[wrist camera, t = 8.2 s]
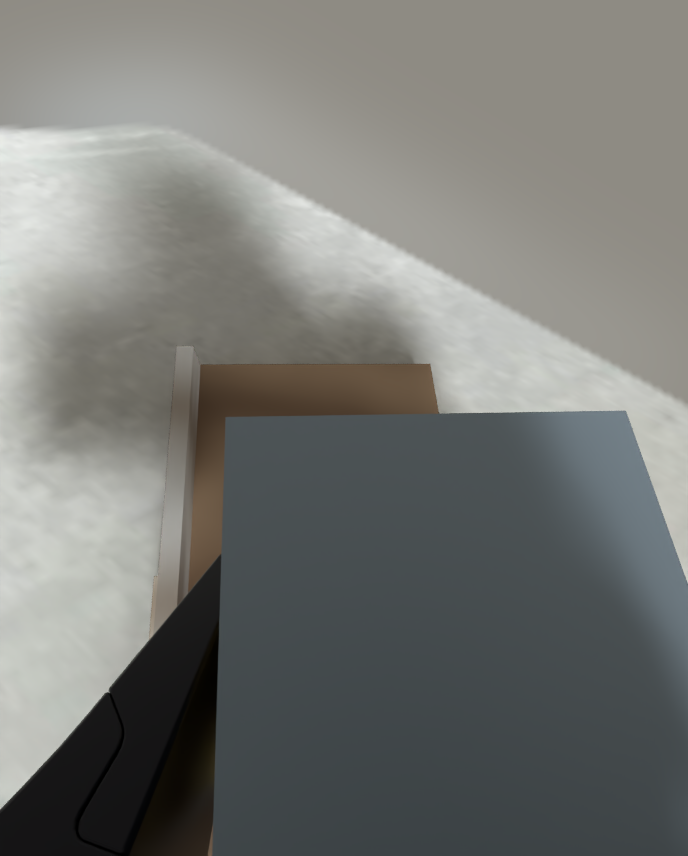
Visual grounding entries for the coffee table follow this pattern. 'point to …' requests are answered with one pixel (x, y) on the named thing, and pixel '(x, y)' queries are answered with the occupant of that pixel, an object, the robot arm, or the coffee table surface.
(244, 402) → the board
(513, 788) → the tea tin
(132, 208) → the coffee table surface
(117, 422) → the coffee table surface
